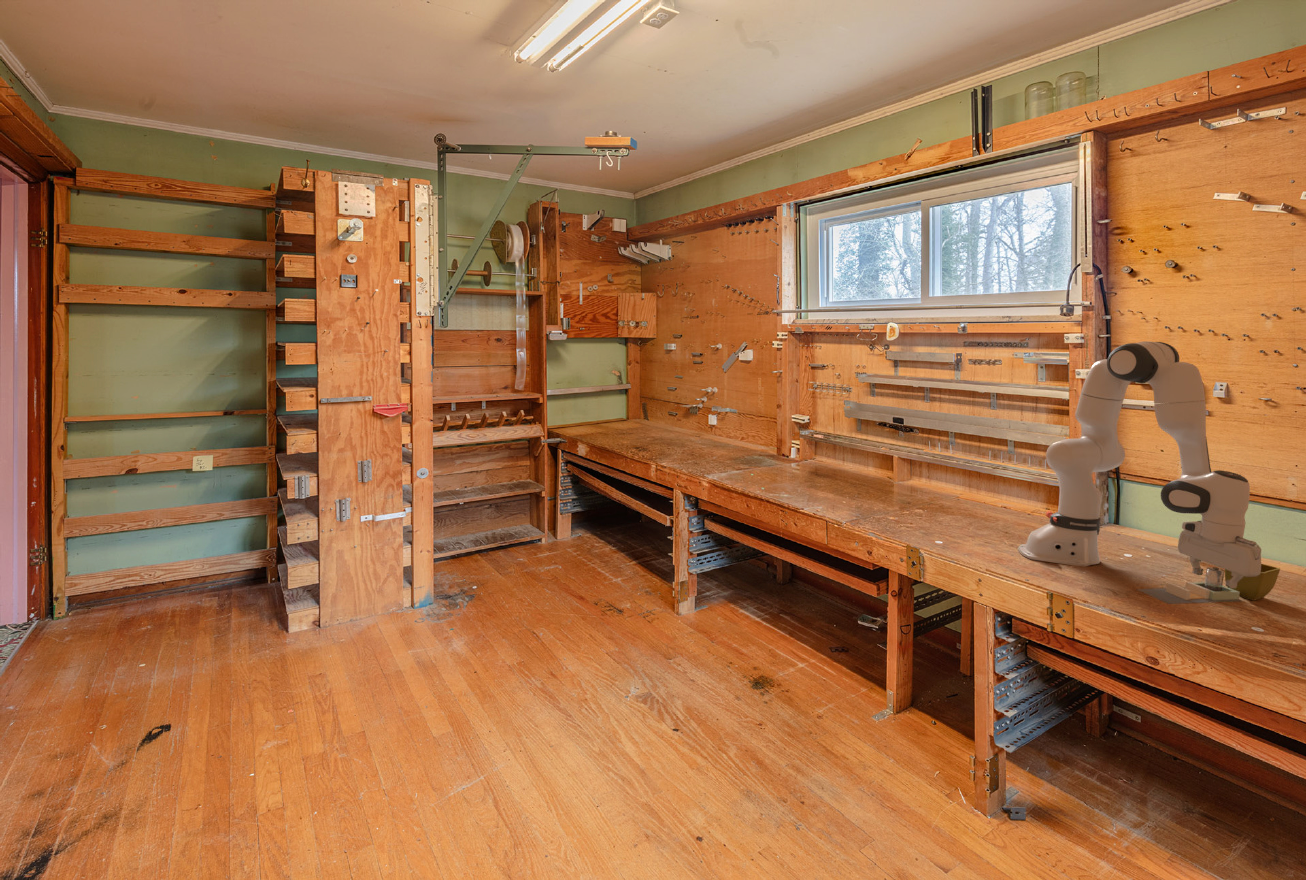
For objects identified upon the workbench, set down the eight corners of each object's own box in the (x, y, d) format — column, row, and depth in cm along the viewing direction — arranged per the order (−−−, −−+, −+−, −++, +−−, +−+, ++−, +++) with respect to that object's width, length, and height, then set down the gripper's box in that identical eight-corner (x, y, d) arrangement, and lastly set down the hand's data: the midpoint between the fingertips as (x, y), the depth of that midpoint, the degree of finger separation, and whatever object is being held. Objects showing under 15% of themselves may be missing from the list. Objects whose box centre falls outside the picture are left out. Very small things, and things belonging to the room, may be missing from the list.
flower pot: (1258, 605, 171) (1263, 572, 170) (1219, 593, 179) (1223, 562, 178) (1275, 600, 175) (1281, 568, 174) (1236, 588, 183) (1241, 558, 182)
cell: (1207, 595, 175) (1211, 569, 174) (1200, 590, 178) (1204, 564, 177) (1223, 597, 174) (1227, 570, 172) (1216, 592, 177) (1220, 566, 176)
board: (1168, 607, 169) (1168, 603, 169) (1135, 592, 179) (1136, 589, 179) (1242, 604, 172) (1243, 601, 171) (1206, 590, 181) (1207, 586, 181)
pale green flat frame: (1213, 600, 172) (1214, 593, 171) (1186, 589, 179) (1187, 582, 179) (1238, 599, 173) (1239, 592, 172) (1211, 588, 180) (1212, 581, 180)
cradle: (1185, 599, 172) (1187, 591, 171) (1165, 591, 178) (1166, 582, 177) (1208, 599, 172) (1210, 590, 172) (1187, 590, 178) (1189, 581, 178)
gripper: (1272, 543, 163) (1263, 595, 166) (1196, 520, 184) (1189, 567, 186) (1250, 544, 163) (1242, 596, 165) (1176, 521, 183) (1169, 567, 185)
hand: (1213, 580), depth 175 cm, fingers open, 8 cm apart
